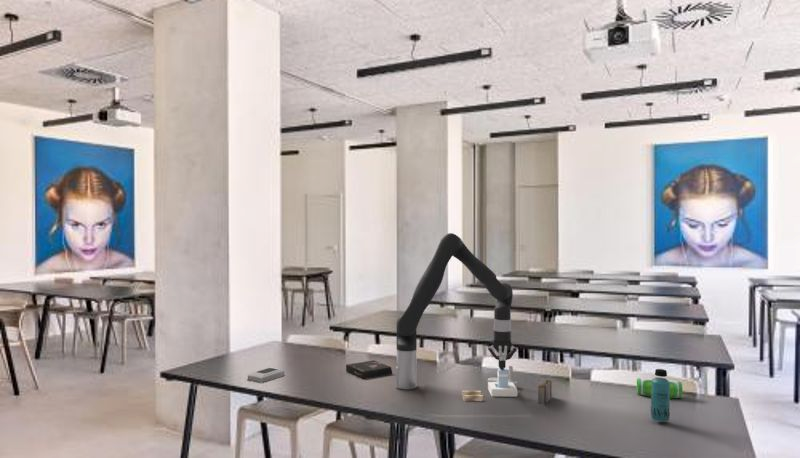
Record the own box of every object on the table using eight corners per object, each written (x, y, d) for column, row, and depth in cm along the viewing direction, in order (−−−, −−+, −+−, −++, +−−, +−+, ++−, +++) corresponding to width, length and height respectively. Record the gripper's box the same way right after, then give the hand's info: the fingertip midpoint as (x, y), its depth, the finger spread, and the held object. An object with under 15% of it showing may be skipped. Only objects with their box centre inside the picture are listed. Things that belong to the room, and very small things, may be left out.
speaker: (680, 396, 245) (680, 378, 245) (682, 401, 238) (682, 383, 238) (636, 392, 250) (636, 375, 250) (637, 396, 243) (637, 379, 243)
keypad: (247, 372, 268) (270, 366, 281) (247, 380, 268) (270, 373, 281) (262, 375, 263) (284, 368, 276) (262, 383, 263) (284, 376, 276)
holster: (463, 403, 234) (463, 396, 234) (461, 397, 242) (461, 390, 242) (482, 403, 234) (482, 396, 234) (480, 397, 242) (480, 390, 242)
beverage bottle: (647, 419, 214) (647, 367, 214) (664, 419, 215) (664, 367, 215) (656, 425, 208) (656, 372, 208) (673, 425, 209) (674, 371, 208)
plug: (498, 393, 243) (498, 370, 243) (497, 391, 248) (497, 368, 247) (508, 393, 243) (508, 370, 243) (506, 391, 247) (506, 368, 247)
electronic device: (491, 361, 267) (518, 366, 257) (492, 382, 267) (519, 387, 257) (485, 363, 263) (512, 368, 253) (485, 384, 263) (513, 390, 253)
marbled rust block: (545, 405, 232) (545, 382, 232) (538, 404, 234) (538, 381, 234) (552, 398, 242) (552, 375, 242) (545, 397, 244) (545, 374, 243)
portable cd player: (392, 374, 280) (392, 366, 279) (362, 380, 270) (362, 371, 270) (374, 367, 293) (374, 360, 293) (346, 372, 284) (346, 364, 284)
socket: (491, 398, 240) (491, 389, 240) (487, 390, 251) (488, 382, 251) (517, 398, 240) (517, 389, 240) (512, 391, 251) (512, 382, 251)
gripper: (488, 330, 242) (488, 371, 242) (519, 331, 241) (518, 371, 242) (485, 327, 249) (485, 366, 249) (515, 327, 249) (515, 366, 249)
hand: (502, 368), depth 245 cm, fingers closed
